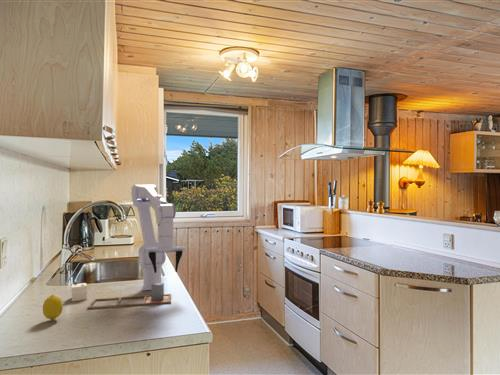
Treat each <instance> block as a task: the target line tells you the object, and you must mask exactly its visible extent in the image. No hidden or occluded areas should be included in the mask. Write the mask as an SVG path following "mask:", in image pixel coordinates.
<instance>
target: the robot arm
mask: <svg viewBox="0 0 500 375" xmlns="http://www.w3.org/2000/svg"><path fill="white" fill-rule="evenodd" d="M130 193H131V201H132V203H133V206H134V207H135V208H137V212H138V217H139V222H140V223H139V224H140V228H141V234H142V240H143V244H142V245H140V247H139V248H138V264H139V265H140V266H141V267H143V268H142V270H143V272H142V275H143V277H142V279H143V284H142V288H141V291H151V285H152V284H153V283H162V267H163V265H164V264H165V262H166V253H175V269H174V270H175V271H174V272H176V273H177V272H178V268H179V264H180V261H181V259H182V258H181V257H182V255H183V253H186V246H184V245H182V246H179V245H174V219H175V218H176V216H177V215H176V211H177V209H176V206H175V204H174V203H169V202H168V201H167V200H166V199H165V198H164V197H163V195H162V194H158V187H157V185H156V184H154V183H153V184H133V185H132V187H131V192H130ZM150 208H152V209H153V211H154V215H155V221H156V224H157V241H156V236H155V235H156V234H155V230H154V225H153V224H154V223H153V220H152V214H151V209H150Z"/></svg>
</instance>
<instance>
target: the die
mask: <svg viewBox="0 0 500 375" xmlns="http://www.w3.org/2000/svg"><path fill="white" fill-rule="evenodd" d="M87 286H88V285H87V282H81V283H80V282H79V283H73V284H71V302H76V301H77V302H78V301H85V300H87V299H88V295H87V294H88V293H87V292H88V288H87Z"/></svg>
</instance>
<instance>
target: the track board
mask: <svg viewBox="0 0 500 375" xmlns="http://www.w3.org/2000/svg"><path fill="white" fill-rule="evenodd" d="M133 299H135V300H136V299H143V300H142V302H139V303H126V304H125V303H124V304H121V302H122V300H133ZM101 301H102V302H103V301H117V302H116V303H115V304H110V305H109V304H108V305H96V306H94V304H95V303H96V302H101ZM171 303H172V293H164V299H163V300H161V301H152V300H151V294H150V295H148V294H147V295H134V296H133V295H132V296H119V297H118V296H116V297H101V298H94V299H92V301H91V302H90V303H89V305H88V306H87V310H95V309H99V310H100V309H110V308H111V309H112V308H113V309H114V308H125V307H140V306H151V305H152V306H153V305H154V306H155V305H156V306H157V305H169V304H171Z"/></svg>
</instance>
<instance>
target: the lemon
mask: <svg viewBox="0 0 500 375" xmlns="http://www.w3.org/2000/svg"><path fill="white" fill-rule="evenodd" d="M63 307H64V306H63V301H62V299H61V297H59V296H58V295H54V294H51V295H50V296H48V297H47V298H46V299H45V300H44V302H43V305H42V313H43V316H44V318H46V319H47V320H48V319H49V320H51V321H55V320H56V318H58V317H60V315H61V314H62V312H63V309H64V308H63Z"/></svg>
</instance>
